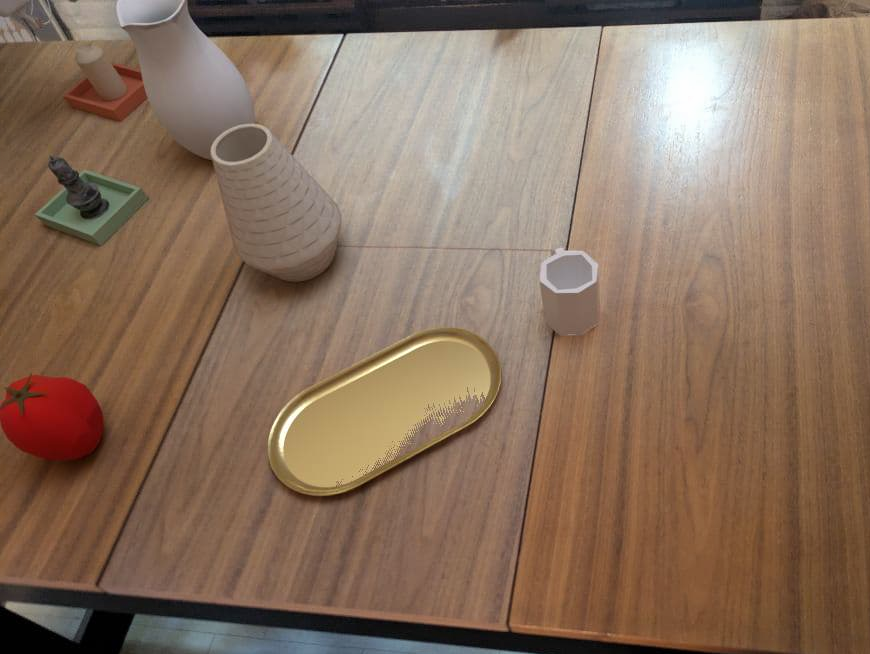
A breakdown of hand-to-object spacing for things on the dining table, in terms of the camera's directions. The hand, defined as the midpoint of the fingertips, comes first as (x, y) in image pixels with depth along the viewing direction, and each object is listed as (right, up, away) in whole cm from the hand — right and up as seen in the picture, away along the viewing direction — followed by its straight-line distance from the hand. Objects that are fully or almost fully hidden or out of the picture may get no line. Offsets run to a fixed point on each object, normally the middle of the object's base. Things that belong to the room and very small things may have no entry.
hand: (57, 13), depth 133 cm
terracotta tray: (+2, -9, +15) cm, 18 cm away
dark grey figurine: (+10, -38, -4) cm, 39 cm away
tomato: (+24, -79, -29) cm, 87 cm away
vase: (+51, -49, -14) cm, 72 cm away
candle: (+2, -9, +15) cm, 17 cm away
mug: (+95, -59, -25) cm, 115 cm away
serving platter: (+69, -75, -31) cm, 107 cm away
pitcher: (+28, -20, +6) cm, 35 cm away
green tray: (+10, -38, -3) cm, 40 cm away
